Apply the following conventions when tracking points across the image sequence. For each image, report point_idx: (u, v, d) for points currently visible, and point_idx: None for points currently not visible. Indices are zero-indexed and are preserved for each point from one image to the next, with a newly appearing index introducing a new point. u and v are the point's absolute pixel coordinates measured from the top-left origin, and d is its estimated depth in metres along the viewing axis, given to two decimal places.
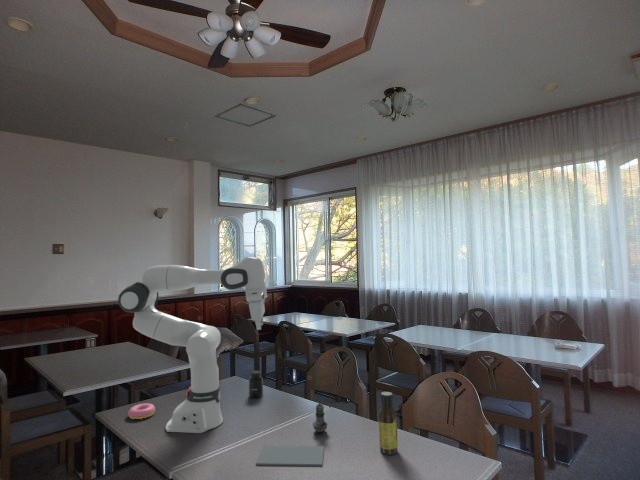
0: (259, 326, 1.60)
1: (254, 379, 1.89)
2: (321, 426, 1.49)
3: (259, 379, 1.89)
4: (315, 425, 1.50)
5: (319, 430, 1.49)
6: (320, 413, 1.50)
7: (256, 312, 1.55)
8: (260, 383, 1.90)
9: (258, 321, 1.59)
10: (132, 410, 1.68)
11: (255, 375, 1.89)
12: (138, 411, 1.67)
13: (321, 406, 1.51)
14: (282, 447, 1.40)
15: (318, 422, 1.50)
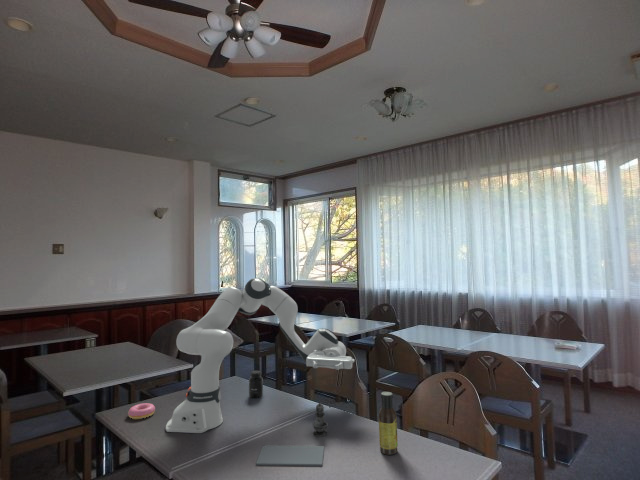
0: None
1: (254, 379, 1.89)
2: (321, 426, 1.49)
3: (259, 379, 1.89)
4: (315, 425, 1.50)
5: (319, 430, 1.49)
6: (320, 413, 1.50)
7: None
8: (260, 383, 1.90)
9: (313, 362, 1.69)
10: (132, 410, 1.69)
11: (255, 375, 1.89)
12: (138, 411, 1.68)
13: (321, 406, 1.51)
14: (282, 447, 1.40)
15: (318, 422, 1.50)
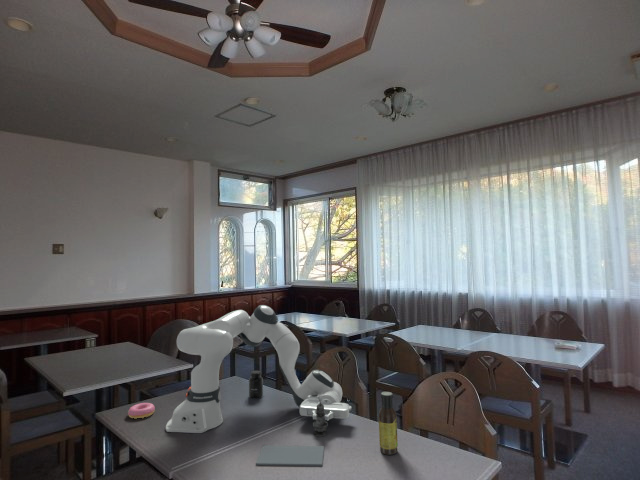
0: None
1: (254, 379, 1.89)
2: (321, 426, 1.49)
3: (259, 379, 1.89)
4: (315, 425, 1.50)
5: (319, 430, 1.49)
6: (321, 413, 1.50)
7: None
8: (260, 383, 1.90)
9: (312, 412, 1.56)
10: (132, 409, 1.69)
11: (255, 375, 1.89)
12: (138, 410, 1.68)
13: (322, 406, 1.51)
14: (282, 447, 1.40)
15: (318, 422, 1.50)
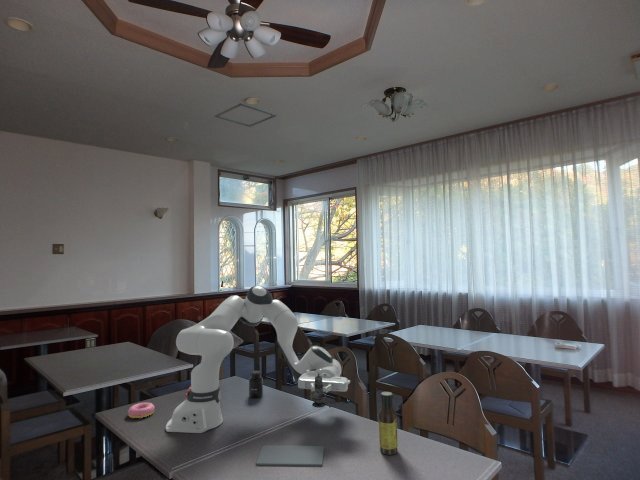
0: None
1: (254, 379, 1.89)
2: (320, 397, 1.48)
3: (259, 379, 1.89)
4: (314, 396, 1.49)
5: (318, 401, 1.49)
6: (319, 385, 1.50)
7: None
8: (260, 383, 1.90)
9: (310, 385, 1.55)
10: (132, 409, 1.69)
11: (255, 375, 1.89)
12: (138, 410, 1.68)
13: (320, 378, 1.50)
14: (282, 447, 1.40)
15: (317, 393, 1.49)
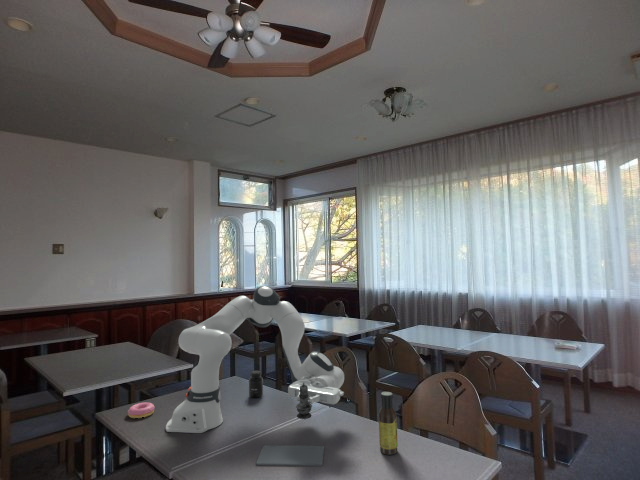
0: None
1: (254, 379, 1.89)
2: (303, 408, 1.38)
3: (259, 379, 1.89)
4: (297, 407, 1.40)
5: (301, 412, 1.39)
6: (303, 395, 1.39)
7: None
8: (260, 383, 1.90)
9: None
10: (132, 409, 1.69)
11: (255, 375, 1.89)
12: (137, 410, 1.68)
13: (304, 387, 1.40)
14: (282, 447, 1.40)
15: (301, 404, 1.39)
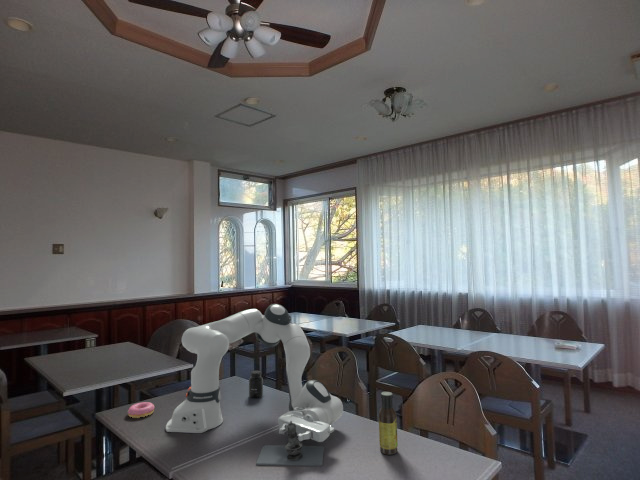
0: None
1: (254, 379, 1.89)
2: (291, 449, 1.31)
3: (259, 379, 1.89)
4: (286, 447, 1.32)
5: (290, 453, 1.31)
6: (291, 434, 1.32)
7: None
8: (260, 383, 1.90)
9: None
10: (131, 409, 1.70)
11: (255, 375, 1.89)
12: (137, 410, 1.69)
13: (291, 426, 1.32)
14: (282, 447, 1.40)
15: (289, 444, 1.32)
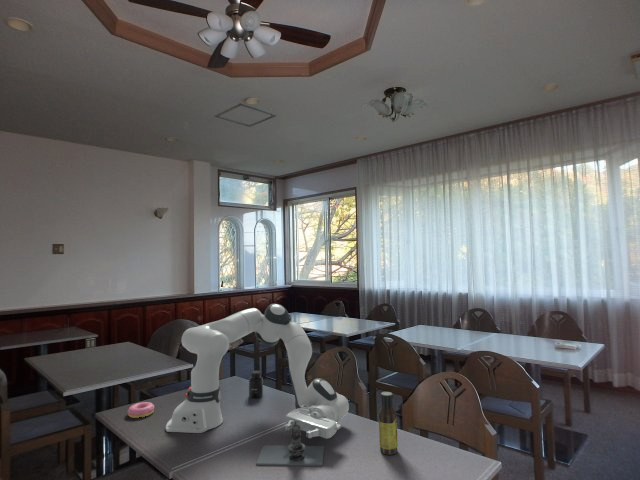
0: None
1: (254, 379, 1.89)
2: (294, 450, 1.30)
3: (259, 379, 1.89)
4: (289, 447, 1.32)
5: (292, 454, 1.30)
6: (295, 435, 1.31)
7: None
8: (260, 383, 1.90)
9: None
10: (131, 409, 1.70)
11: (255, 375, 1.89)
12: (137, 410, 1.69)
13: (296, 427, 1.32)
14: (282, 447, 1.40)
15: (292, 445, 1.31)
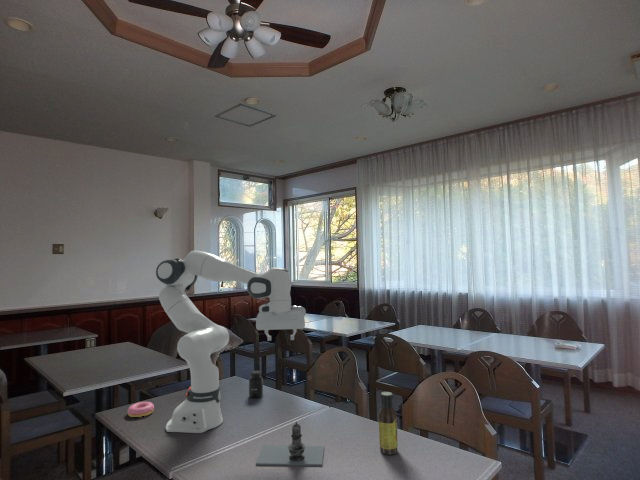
0: None
1: (254, 379, 1.89)
2: (294, 450, 1.30)
3: (259, 379, 1.89)
4: (289, 447, 1.32)
5: (293, 454, 1.30)
6: (295, 435, 1.31)
7: None
8: (260, 383, 1.90)
9: None
10: (131, 408, 1.70)
11: (255, 375, 1.89)
12: (137, 409, 1.69)
13: (296, 427, 1.32)
14: (282, 447, 1.40)
15: (293, 445, 1.32)
